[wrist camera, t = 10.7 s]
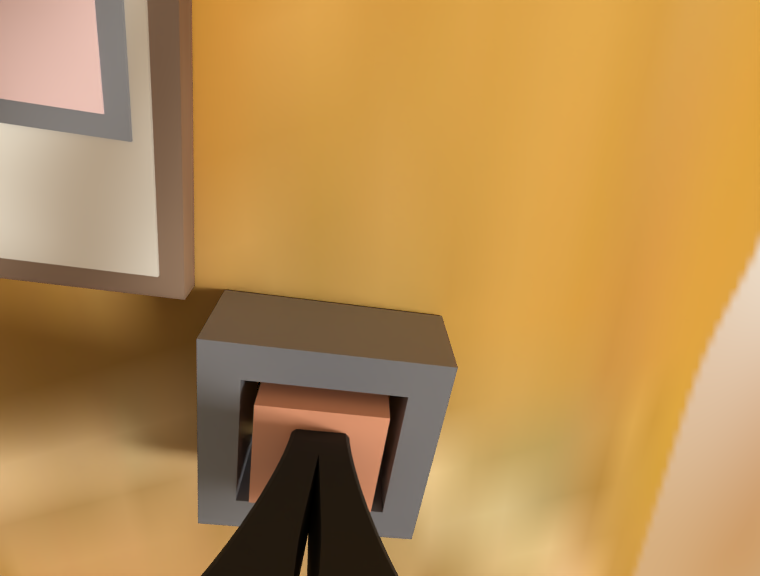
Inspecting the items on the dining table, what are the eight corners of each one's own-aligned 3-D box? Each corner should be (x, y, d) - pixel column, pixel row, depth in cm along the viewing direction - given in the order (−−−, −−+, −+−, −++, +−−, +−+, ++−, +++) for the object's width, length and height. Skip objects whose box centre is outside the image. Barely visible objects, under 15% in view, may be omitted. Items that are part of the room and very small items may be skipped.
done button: (263, 446, 14) (248, 502, 13) (268, 356, 13) (253, 404, 11) (369, 456, 15) (370, 511, 13) (386, 369, 13) (390, 418, 12)
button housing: (221, 455, 16) (198, 523, 13) (224, 289, 13) (196, 339, 11) (404, 471, 16) (411, 539, 14) (442, 316, 14) (457, 367, 11)
